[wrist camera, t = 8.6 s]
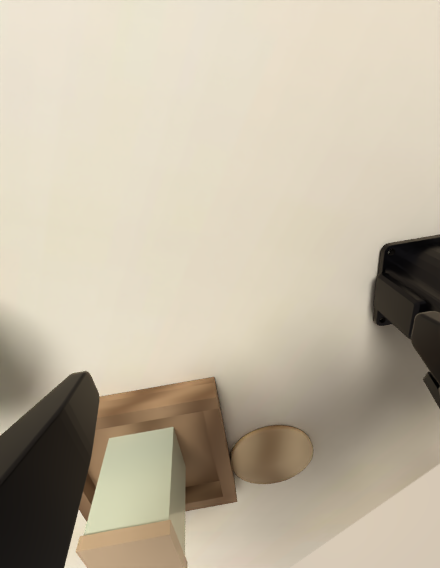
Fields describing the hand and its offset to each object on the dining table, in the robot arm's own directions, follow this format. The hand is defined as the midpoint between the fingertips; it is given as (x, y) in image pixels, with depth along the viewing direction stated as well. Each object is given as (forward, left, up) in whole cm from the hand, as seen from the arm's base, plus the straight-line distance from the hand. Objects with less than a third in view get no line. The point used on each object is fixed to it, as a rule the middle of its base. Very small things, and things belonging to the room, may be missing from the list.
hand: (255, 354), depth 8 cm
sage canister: (+9, +19, -11) cm, 24 cm away
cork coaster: (-2, +23, -12) cm, 26 cm away
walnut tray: (+9, +19, -12) cm, 24 cm away
